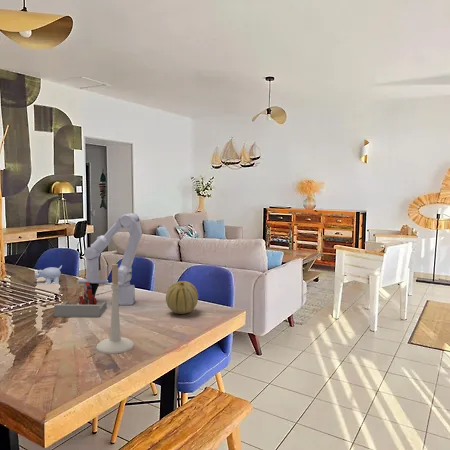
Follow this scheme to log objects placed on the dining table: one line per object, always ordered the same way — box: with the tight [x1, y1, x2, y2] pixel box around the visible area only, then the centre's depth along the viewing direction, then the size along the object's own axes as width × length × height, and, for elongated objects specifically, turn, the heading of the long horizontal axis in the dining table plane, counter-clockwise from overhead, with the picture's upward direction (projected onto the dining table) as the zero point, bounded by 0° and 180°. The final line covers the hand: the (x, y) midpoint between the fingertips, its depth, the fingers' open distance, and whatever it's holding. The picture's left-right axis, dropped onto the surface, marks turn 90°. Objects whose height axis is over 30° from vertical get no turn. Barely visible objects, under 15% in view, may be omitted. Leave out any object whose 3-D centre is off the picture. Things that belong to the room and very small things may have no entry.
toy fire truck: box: [78, 282, 98, 305], centre depth 194 cm, size 7×12×10 cm, turn 28°
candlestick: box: [96, 263, 135, 355], centre depth 144 cm, size 13×13×30 cm
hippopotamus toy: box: [34, 264, 63, 285], centre depth 241 cm, size 11×15×10 cm
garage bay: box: [53, 300, 108, 318], centre depth 184 cm, size 19×14×5 cm
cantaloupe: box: [165, 280, 199, 315], centre depth 185 cm, size 15×15×15 cm
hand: (92, 298), depth 202 cm, fingers closed
